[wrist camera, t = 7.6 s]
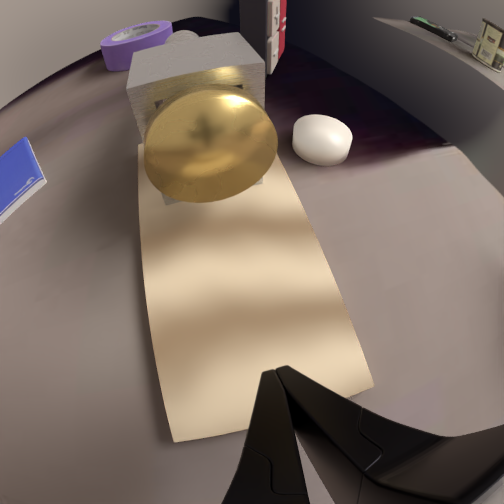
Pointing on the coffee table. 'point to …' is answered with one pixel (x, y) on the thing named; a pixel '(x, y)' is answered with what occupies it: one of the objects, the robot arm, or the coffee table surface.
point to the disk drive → (434, 28)
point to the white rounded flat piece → (321, 140)
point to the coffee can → (490, 46)
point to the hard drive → (18, 177)
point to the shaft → (208, 141)
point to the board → (239, 303)
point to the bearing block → (192, 73)
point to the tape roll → (133, 43)
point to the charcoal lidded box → (264, 28)
